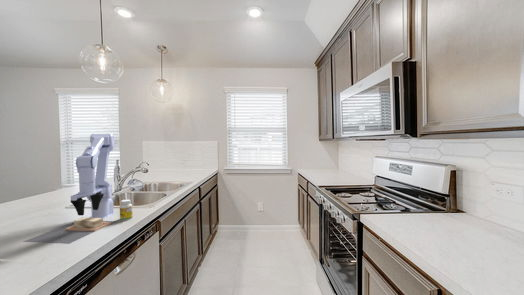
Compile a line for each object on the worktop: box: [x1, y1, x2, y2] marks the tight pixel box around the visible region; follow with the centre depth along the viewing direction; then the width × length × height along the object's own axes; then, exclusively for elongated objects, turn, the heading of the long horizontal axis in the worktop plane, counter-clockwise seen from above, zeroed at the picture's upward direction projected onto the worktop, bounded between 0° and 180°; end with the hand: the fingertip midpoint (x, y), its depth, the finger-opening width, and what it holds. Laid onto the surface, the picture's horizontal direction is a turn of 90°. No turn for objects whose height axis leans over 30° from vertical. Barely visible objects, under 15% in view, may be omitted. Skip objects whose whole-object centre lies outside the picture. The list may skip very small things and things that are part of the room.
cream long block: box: [74, 216, 104, 229], centre depth 103 cm, size 10×4×4 cm, turn 83°
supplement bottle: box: [119, 199, 134, 221], centre depth 114 cm, size 5×5×10 cm
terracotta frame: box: [66, 222, 112, 232], centre depth 103 cm, size 9×14×1 cm, turn 83°
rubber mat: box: [22, 220, 117, 245], centre depth 99 cm, size 24×20×1 cm
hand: (88, 212), depth 103 cm, fingers open, 7 cm apart
